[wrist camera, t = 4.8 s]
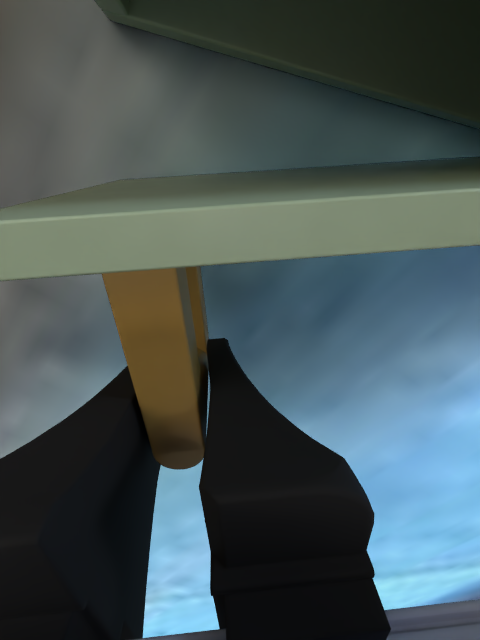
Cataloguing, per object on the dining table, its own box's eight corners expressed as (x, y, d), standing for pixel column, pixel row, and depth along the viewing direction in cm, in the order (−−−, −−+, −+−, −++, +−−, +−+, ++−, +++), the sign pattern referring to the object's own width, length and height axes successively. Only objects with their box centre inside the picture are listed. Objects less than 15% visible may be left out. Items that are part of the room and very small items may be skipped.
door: (474, 315, 15) (721, 467, 8) (154, 342, 14) (91, 533, 7) (531, 153, 12) (1064, 147, 4) (118, 179, 11) (-71, 225, 4)
